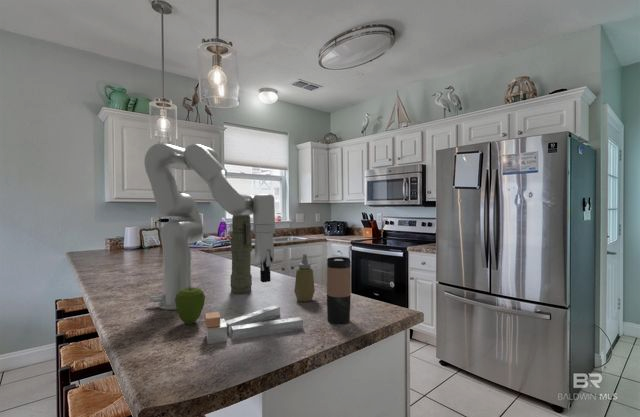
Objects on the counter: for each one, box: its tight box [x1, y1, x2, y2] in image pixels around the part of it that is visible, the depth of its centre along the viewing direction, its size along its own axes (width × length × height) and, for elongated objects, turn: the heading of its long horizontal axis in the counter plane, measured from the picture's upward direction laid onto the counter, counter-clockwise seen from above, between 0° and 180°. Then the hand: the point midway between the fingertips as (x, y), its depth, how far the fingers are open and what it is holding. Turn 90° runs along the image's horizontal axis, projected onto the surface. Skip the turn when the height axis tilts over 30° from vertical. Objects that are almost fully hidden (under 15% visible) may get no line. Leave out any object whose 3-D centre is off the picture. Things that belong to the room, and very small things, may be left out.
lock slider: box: [204, 311, 221, 329], centre depth 88 cm, size 4×5×2 cm
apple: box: [175, 287, 206, 325], centre depth 100 cm, size 9×8×12 cm
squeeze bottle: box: [294, 253, 316, 302], centre depth 126 cm, size 8×8×18 cm
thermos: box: [230, 215, 253, 295], centre depth 138 cm, size 9×12×35 cm
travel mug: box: [326, 256, 352, 326], centre depth 102 cm, size 8×8×20 cm
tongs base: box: [205, 316, 304, 345], centre depth 93 cm, size 27×7×4 cm, turn 113°
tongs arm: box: [225, 305, 281, 335], centre depth 100 cm, size 20×3×3 cm, turn 142°
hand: (265, 281), depth 112 cm, fingers closed
